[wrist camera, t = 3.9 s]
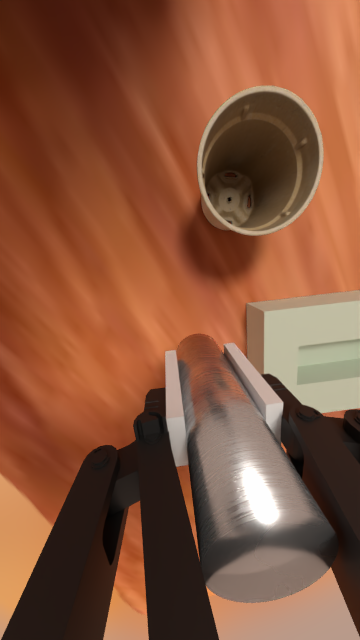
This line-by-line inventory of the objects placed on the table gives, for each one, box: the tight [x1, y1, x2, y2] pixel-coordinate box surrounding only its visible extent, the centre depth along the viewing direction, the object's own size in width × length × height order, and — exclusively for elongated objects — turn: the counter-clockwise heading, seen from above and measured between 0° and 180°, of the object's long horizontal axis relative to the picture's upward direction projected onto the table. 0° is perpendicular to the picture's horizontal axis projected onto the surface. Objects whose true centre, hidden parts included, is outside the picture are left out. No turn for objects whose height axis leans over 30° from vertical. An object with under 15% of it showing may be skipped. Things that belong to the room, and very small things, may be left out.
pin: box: [176, 334, 339, 603], centre depth 11 cm, size 4×4×12 cm
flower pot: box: [197, 86, 323, 236], centre depth 19 cm, size 9×9×9 cm
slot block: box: [246, 290, 360, 413], centre depth 26 cm, size 14×20×5 cm
